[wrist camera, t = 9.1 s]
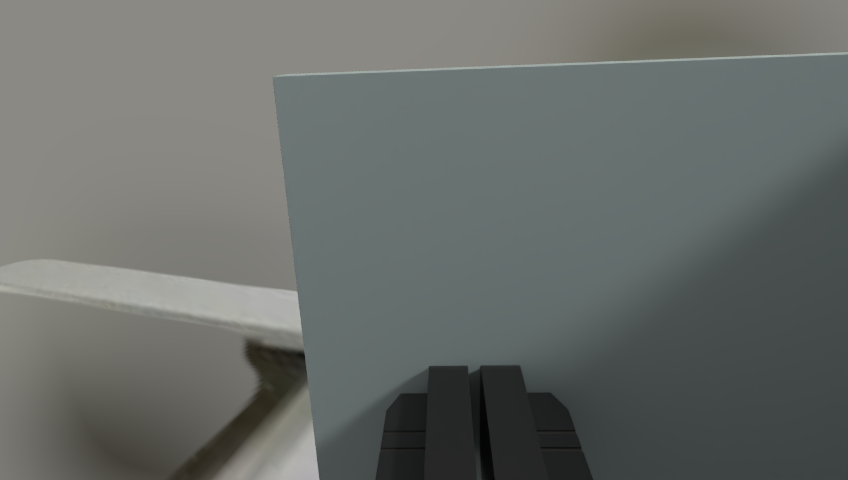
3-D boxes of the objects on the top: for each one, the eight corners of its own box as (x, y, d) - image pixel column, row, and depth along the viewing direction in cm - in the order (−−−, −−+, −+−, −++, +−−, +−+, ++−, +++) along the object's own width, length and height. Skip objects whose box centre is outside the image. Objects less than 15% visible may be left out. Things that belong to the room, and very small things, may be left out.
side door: (927, 646, 12) (1144, 7, 8) (340, 666, 12) (266, 41, 8) (871, 580, 14) (1029, 14, 10) (348, 597, 14) (291, 43, 10)
